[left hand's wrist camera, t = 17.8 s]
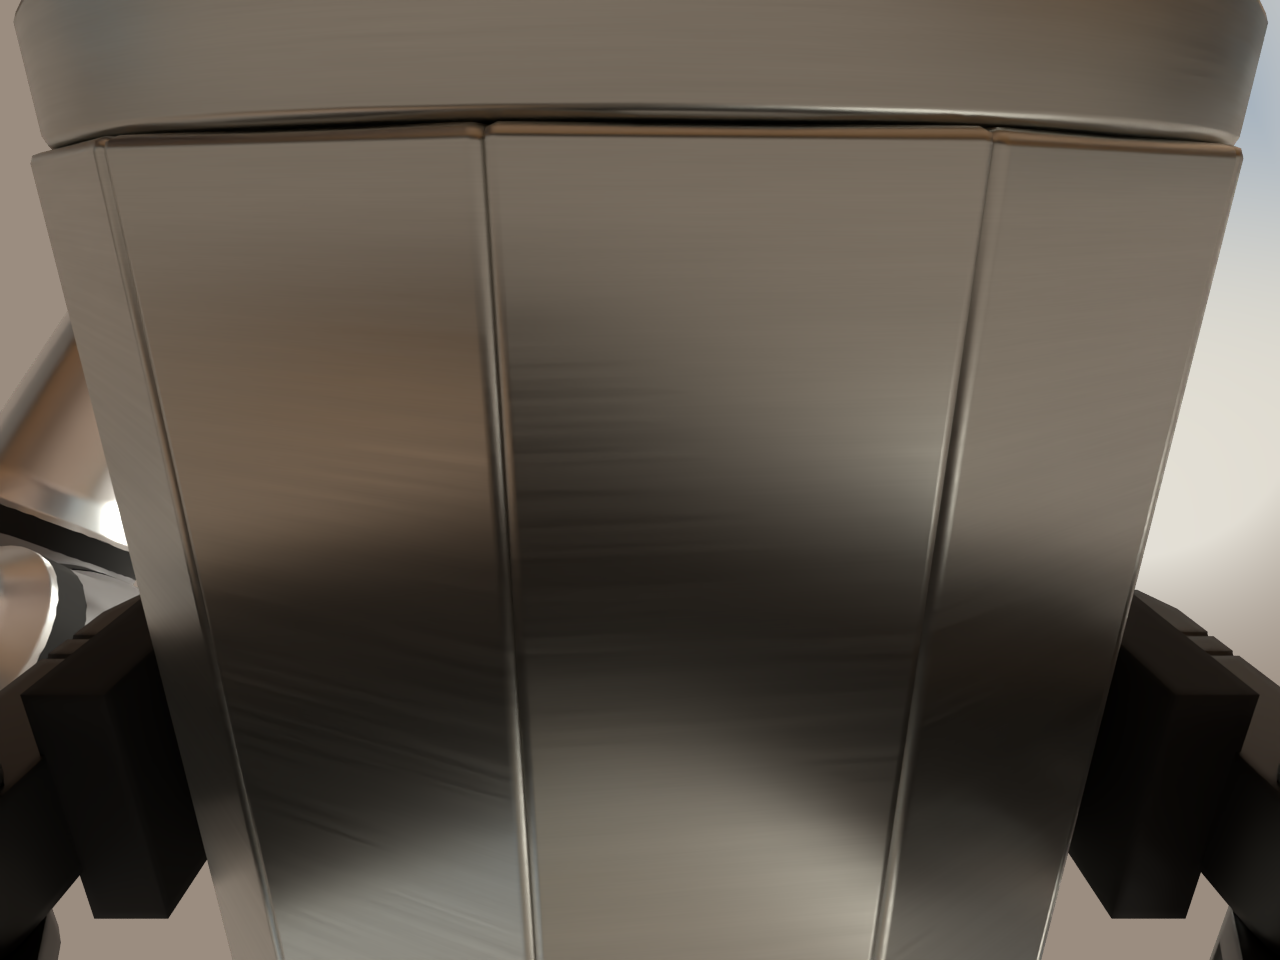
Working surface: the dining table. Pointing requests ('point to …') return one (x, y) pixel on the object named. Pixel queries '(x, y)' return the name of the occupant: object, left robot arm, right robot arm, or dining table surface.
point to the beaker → (637, 444)
